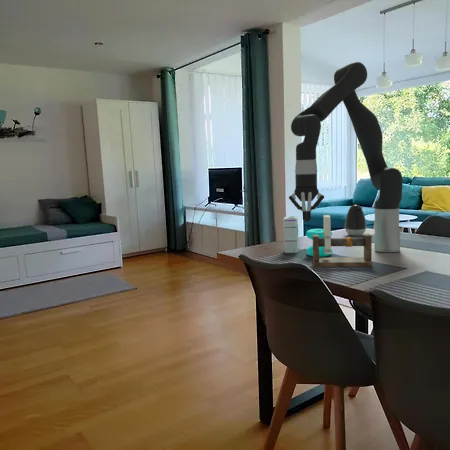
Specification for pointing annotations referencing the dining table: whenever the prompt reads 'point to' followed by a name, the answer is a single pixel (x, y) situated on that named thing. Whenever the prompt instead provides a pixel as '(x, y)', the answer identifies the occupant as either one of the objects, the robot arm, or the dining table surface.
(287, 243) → the syrup box
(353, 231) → the dark grey egg shape
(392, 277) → the dining table surface
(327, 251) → the white tall bar
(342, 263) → the pipe stand
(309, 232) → the donuts
